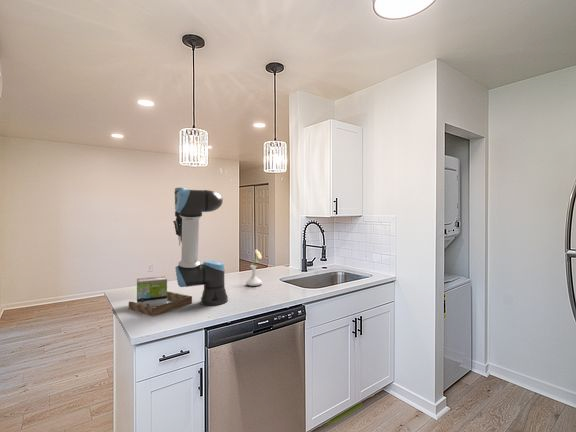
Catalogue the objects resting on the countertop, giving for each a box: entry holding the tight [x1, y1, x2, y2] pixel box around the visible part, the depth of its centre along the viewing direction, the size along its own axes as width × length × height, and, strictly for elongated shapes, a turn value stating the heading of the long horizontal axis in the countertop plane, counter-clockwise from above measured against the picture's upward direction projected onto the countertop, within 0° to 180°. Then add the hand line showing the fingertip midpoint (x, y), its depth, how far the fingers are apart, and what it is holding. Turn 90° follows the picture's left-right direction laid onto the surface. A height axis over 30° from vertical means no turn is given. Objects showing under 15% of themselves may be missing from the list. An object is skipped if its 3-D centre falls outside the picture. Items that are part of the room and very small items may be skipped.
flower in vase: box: [245, 249, 263, 287], centre depth 211 cm, size 13×11×25 cm
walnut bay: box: [128, 290, 193, 317], centre depth 165 cm, size 21×24×4 cm
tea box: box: [136, 275, 168, 307], centre depth 168 cm, size 15×10×15 cm
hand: (181, 245), depth 202 cm, fingers closed
